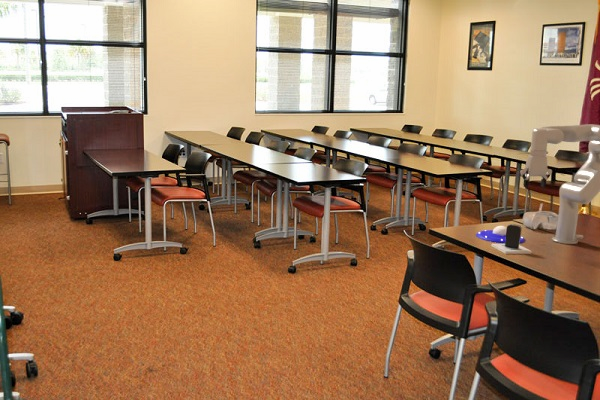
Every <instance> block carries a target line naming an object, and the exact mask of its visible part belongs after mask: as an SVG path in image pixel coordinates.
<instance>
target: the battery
mask: <svg viewBox="0 0 600 400" xmlns="http://www.w3.org/2000/svg"><path fill="white" fill-rule="evenodd" d="M506 228H507V229H506V240H505V246H506V247H511V248H519V245H520V244H521V243H520V237H522V230H523V228H522V226H521V225H519V224H514V223H509V224H508V225H507V226H506ZM519 243H520V244H519Z"/></svg>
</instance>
